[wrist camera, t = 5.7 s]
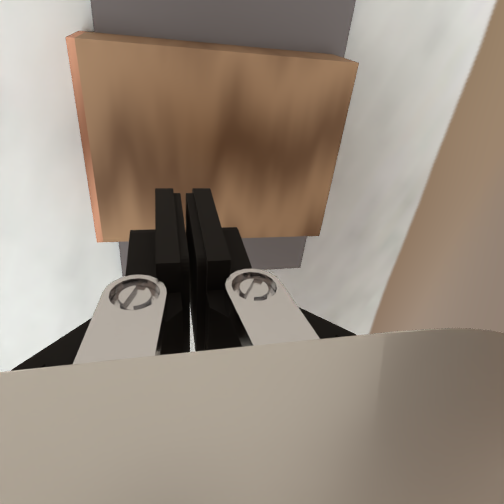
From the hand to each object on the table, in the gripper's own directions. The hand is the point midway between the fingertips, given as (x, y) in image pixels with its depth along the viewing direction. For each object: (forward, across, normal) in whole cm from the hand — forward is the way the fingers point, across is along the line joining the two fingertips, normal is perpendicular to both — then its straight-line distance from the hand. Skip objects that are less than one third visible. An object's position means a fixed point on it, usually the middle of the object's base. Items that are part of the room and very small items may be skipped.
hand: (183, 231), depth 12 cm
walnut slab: (+8, +4, 0) cm, 9 cm away
